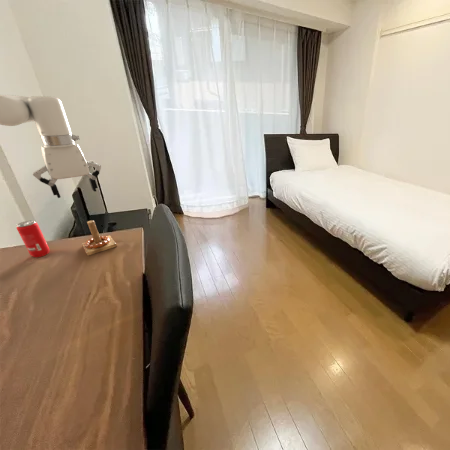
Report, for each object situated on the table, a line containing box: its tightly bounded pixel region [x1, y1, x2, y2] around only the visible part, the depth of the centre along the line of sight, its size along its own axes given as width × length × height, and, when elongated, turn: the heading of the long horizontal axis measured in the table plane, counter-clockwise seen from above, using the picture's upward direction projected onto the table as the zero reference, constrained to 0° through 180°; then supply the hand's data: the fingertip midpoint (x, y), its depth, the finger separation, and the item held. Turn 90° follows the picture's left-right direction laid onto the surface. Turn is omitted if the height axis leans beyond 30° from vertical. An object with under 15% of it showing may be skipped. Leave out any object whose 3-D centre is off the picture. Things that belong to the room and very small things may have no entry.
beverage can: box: [16, 220, 50, 258], centre depth 93 cm, size 5×5×12 cm
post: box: [81, 220, 118, 256], centre depth 98 cm, size 9×9×10 cm
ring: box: [84, 235, 110, 249], centre depth 99 cm, size 8×8×1 cm
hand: (77, 193), depth 91 cm, fingers open, 9 cm apart
